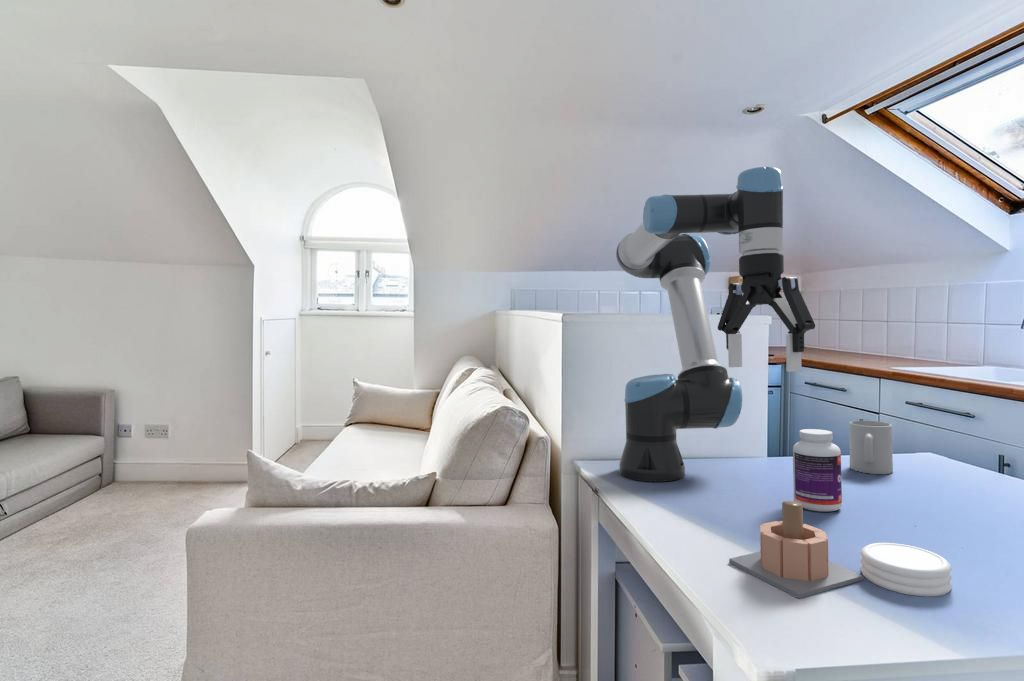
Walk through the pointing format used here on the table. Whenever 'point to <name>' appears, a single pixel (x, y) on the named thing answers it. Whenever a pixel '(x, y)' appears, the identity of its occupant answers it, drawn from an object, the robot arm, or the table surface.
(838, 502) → the pill bottle
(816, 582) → the post block
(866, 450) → the mug
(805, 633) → the table surface
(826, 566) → the ring
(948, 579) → the coaster
